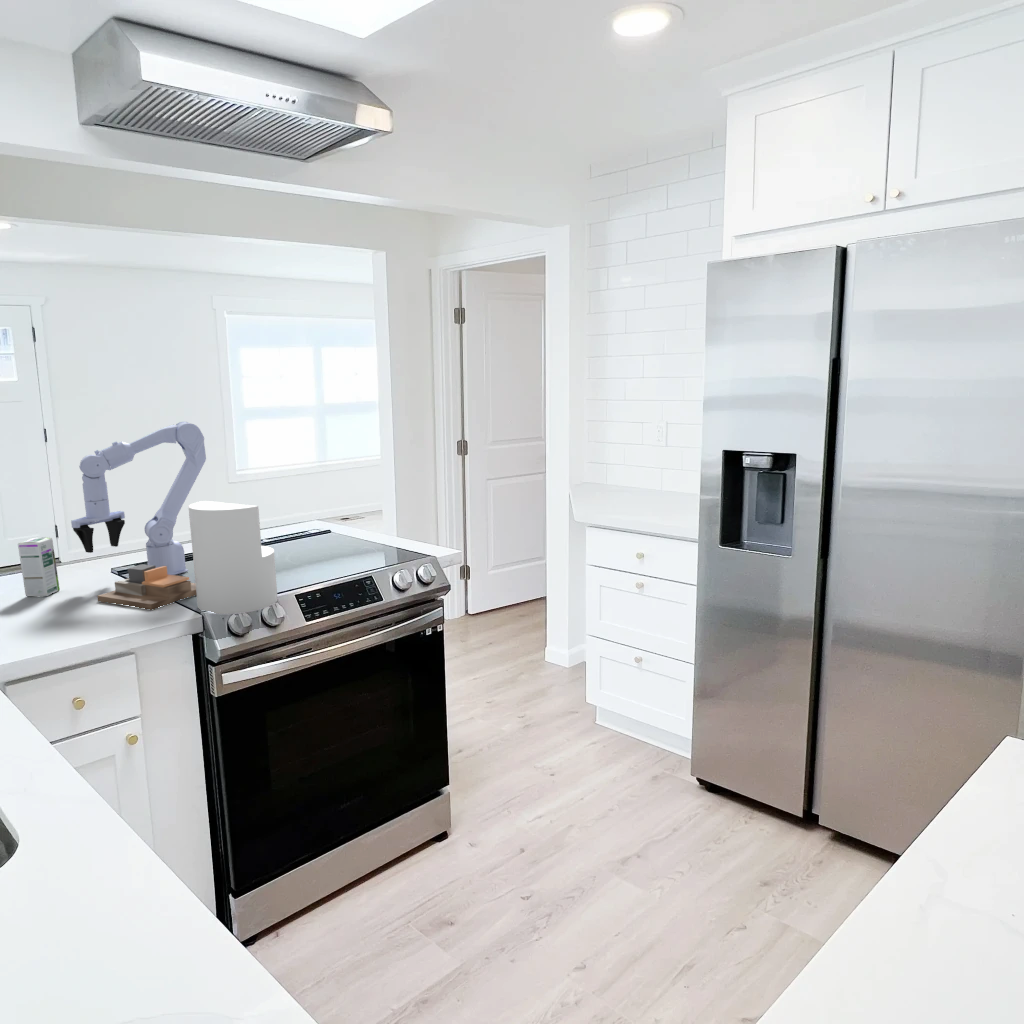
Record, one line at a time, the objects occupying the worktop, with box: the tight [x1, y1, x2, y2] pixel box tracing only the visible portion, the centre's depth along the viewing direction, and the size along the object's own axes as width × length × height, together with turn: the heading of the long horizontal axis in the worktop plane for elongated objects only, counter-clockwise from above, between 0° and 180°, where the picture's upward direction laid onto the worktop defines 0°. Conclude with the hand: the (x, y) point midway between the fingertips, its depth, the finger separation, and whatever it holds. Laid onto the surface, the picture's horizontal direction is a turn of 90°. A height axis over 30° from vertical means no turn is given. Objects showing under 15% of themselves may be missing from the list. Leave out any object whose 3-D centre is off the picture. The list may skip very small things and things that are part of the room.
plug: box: [127, 564, 156, 584], centre depth 201 cm, size 4×7×6 cm
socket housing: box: [97, 577, 197, 611], centre depth 200 cm, size 18×19×4 cm
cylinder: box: [188, 500, 278, 615], centre depth 191 cm, size 19×19×25 cm
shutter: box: [142, 566, 190, 588], centre depth 197 cm, size 8×8×3 cm
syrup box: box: [17, 537, 60, 597], centre depth 202 cm, size 6×6×14 cm
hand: (102, 549), depth 212 cm, fingers open, 7 cm apart
